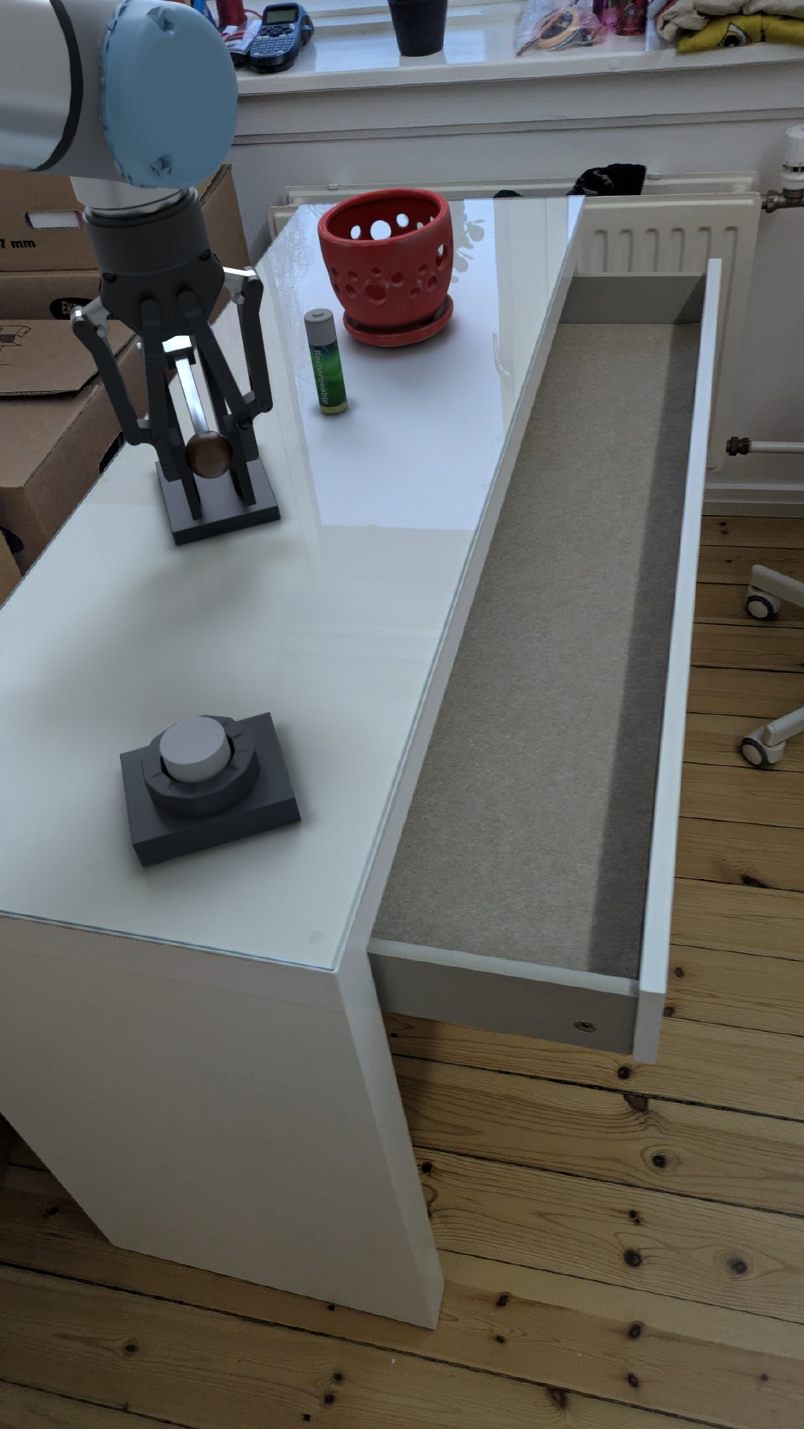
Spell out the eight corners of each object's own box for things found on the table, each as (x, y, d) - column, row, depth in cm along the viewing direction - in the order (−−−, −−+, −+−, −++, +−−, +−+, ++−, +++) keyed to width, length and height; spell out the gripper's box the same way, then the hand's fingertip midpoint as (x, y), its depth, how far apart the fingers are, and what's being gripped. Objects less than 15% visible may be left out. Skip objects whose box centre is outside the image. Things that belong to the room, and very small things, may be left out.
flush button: (171, 791, 66) (163, 771, 64) (163, 746, 68) (155, 727, 67) (236, 772, 66) (229, 752, 65) (225, 729, 69) (218, 709, 68)
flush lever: (240, 480, 85) (235, 458, 81) (194, 492, 84) (188, 470, 81) (197, 337, 88) (191, 309, 84) (153, 347, 87) (145, 319, 84)
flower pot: (351, 302, 120) (334, 188, 112) (469, 300, 117) (460, 183, 109) (321, 359, 111) (300, 240, 103) (447, 358, 108) (437, 236, 100)
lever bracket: (281, 518, 92) (240, 340, 81) (176, 545, 90) (120, 368, 79) (255, 450, 100) (215, 279, 89) (158, 474, 99) (106, 304, 88)
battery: (315, 407, 104) (297, 312, 98) (339, 398, 105) (323, 302, 99) (328, 418, 103) (311, 322, 96) (353, 408, 103) (338, 312, 97)
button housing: (142, 867, 66) (123, 825, 64) (129, 776, 72) (111, 734, 69) (301, 820, 68) (289, 777, 65) (276, 734, 73) (264, 691, 70)
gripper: (253, 149, 73) (313, 453, 90) (5, 204, 71) (113, 505, 88) (276, 184, 68) (335, 501, 84) (8, 245, 66) (122, 557, 82)
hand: (222, 502), depth 86 cm, fingers closed on flush lever, 4 cm apart
